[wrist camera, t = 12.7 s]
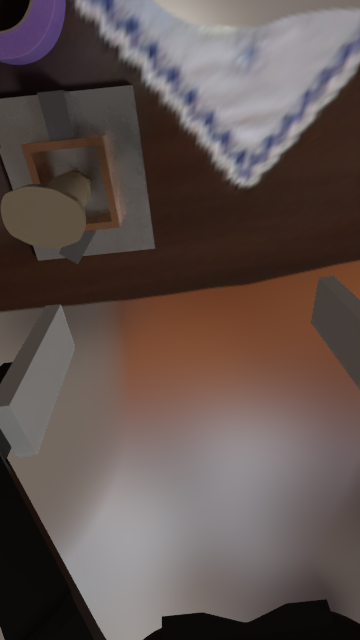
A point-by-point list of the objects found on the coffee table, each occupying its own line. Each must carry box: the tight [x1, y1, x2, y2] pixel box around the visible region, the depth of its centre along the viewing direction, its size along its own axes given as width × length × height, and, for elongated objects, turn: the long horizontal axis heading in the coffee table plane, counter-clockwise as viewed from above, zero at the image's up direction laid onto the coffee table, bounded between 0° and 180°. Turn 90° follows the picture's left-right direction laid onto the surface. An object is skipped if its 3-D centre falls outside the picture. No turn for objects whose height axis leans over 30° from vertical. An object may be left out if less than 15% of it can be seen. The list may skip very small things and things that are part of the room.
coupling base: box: [0, 85, 155, 264], centre depth 37 cm, size 18×16×4 cm
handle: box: [1, 171, 91, 248], centre depth 32 cm, size 5×6×15 cm
